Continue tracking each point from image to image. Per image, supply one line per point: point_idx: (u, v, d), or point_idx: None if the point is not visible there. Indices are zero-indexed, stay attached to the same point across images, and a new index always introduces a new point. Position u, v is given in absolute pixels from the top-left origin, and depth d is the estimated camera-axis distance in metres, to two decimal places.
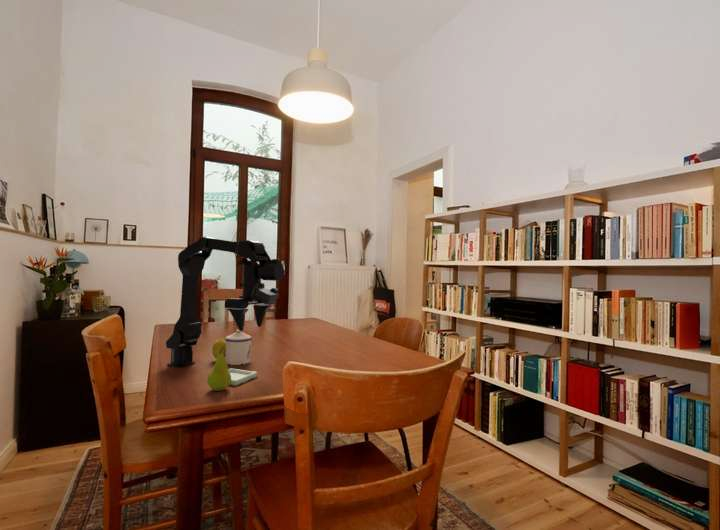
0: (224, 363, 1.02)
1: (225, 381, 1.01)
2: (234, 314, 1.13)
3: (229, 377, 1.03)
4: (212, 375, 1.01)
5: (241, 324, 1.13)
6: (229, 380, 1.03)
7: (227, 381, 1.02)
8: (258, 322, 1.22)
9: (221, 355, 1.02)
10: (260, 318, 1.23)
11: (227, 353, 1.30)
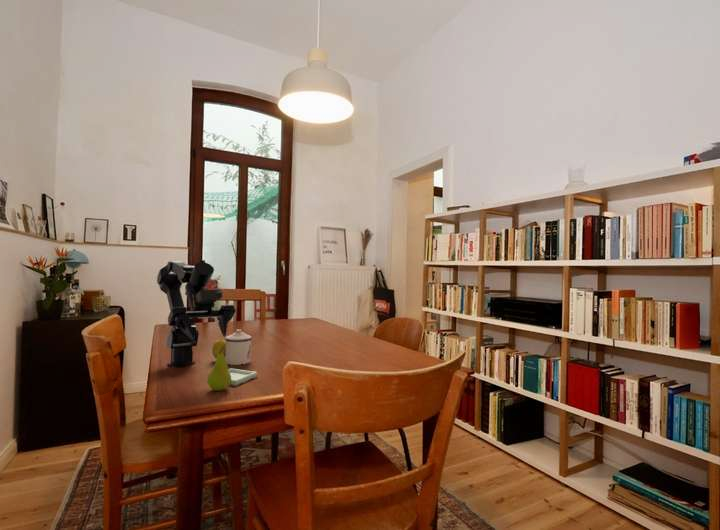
0: (224, 363, 1.02)
1: (225, 381, 1.01)
2: (182, 328, 1.08)
3: (229, 377, 1.03)
4: (212, 375, 1.01)
5: (189, 332, 1.06)
6: (229, 380, 1.03)
7: (227, 381, 1.02)
8: (222, 332, 1.13)
9: (221, 355, 1.02)
10: (223, 328, 1.13)
11: (227, 353, 1.30)
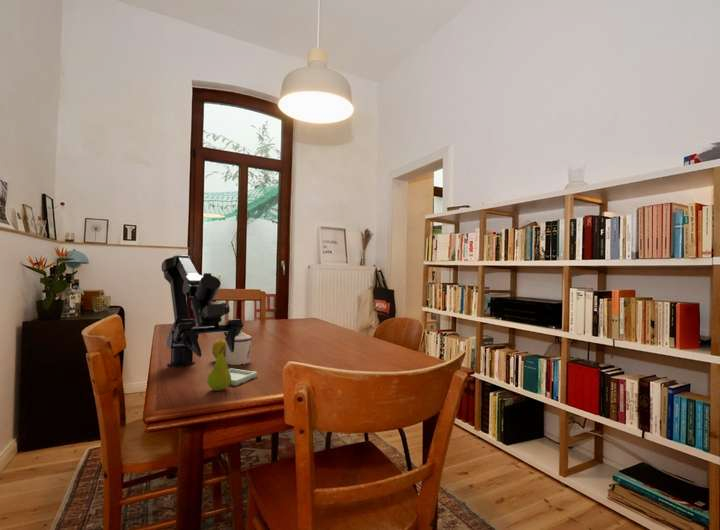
0: (224, 363, 1.02)
1: (225, 381, 1.01)
2: (189, 344, 1.04)
3: (229, 377, 1.03)
4: (212, 375, 1.01)
5: (196, 348, 1.02)
6: (229, 380, 1.03)
7: (227, 381, 1.02)
8: (230, 348, 1.08)
9: (221, 355, 1.02)
10: (230, 344, 1.09)
11: (227, 353, 1.30)
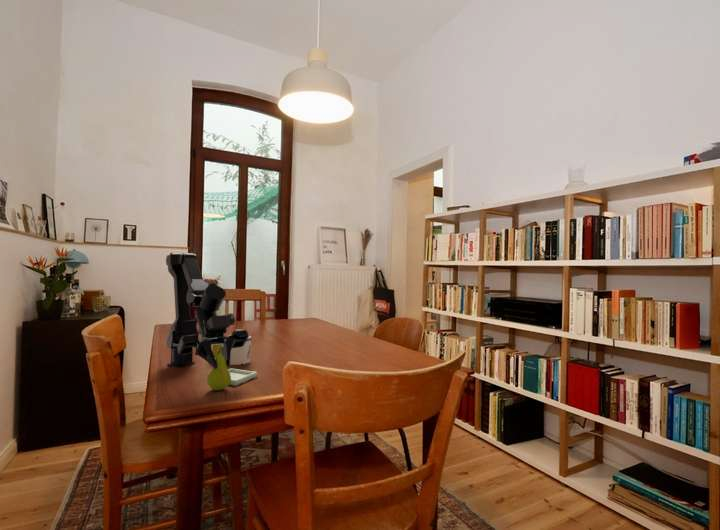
0: (223, 363, 1.02)
1: (225, 381, 1.01)
2: (204, 355, 1.03)
3: (229, 377, 1.03)
4: (212, 375, 1.01)
5: (211, 360, 1.01)
6: (229, 380, 1.02)
7: (227, 381, 1.01)
8: (226, 361, 1.04)
9: (220, 355, 1.02)
10: (226, 357, 1.05)
11: None
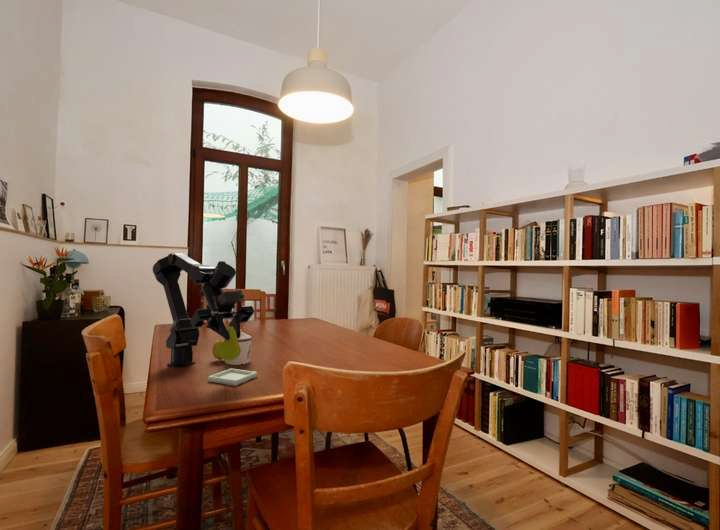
0: (235, 335, 1.10)
1: (237, 352, 1.09)
2: (215, 328, 1.10)
3: (239, 348, 1.11)
4: (224, 346, 1.08)
5: (224, 332, 1.08)
6: (239, 351, 1.10)
7: (238, 352, 1.09)
8: None
9: (232, 328, 1.10)
10: (236, 330, 1.12)
11: None
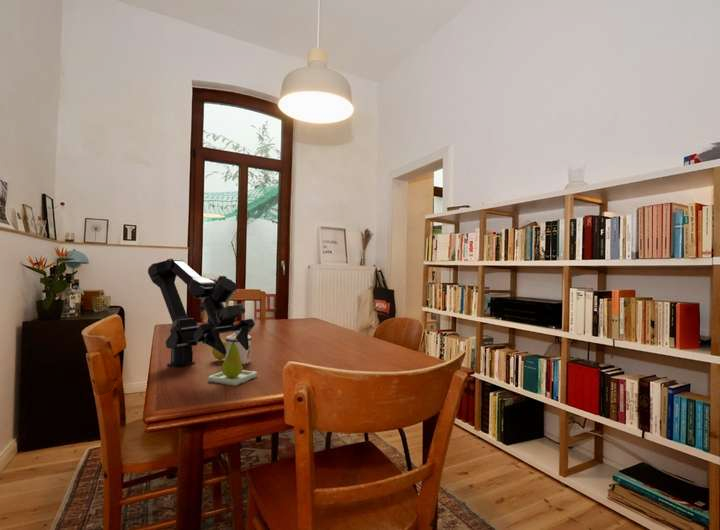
0: (237, 352, 1.13)
1: (240, 369, 1.12)
2: (211, 343, 1.10)
3: (242, 365, 1.13)
4: (227, 364, 1.10)
5: (221, 347, 1.09)
6: (242, 367, 1.13)
7: (241, 368, 1.12)
8: (245, 346, 1.16)
9: (234, 345, 1.12)
10: (244, 342, 1.16)
11: (227, 353, 1.30)
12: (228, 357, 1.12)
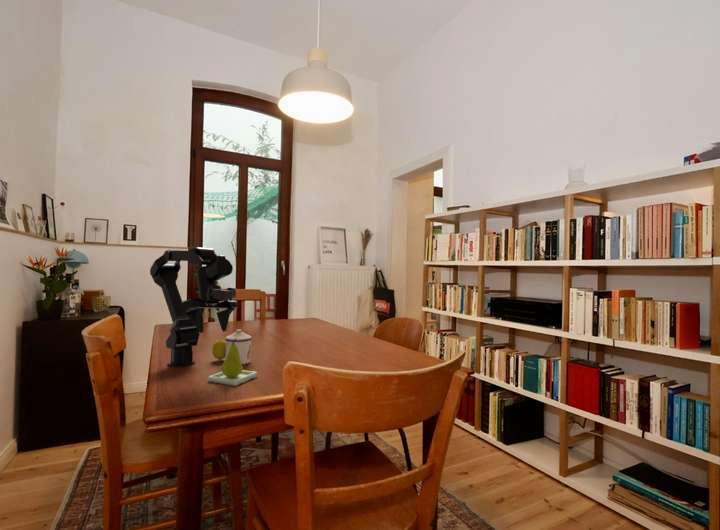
0: (237, 352, 1.13)
1: (240, 369, 1.12)
2: (192, 317, 1.13)
3: (242, 365, 1.13)
4: (227, 364, 1.10)
5: (200, 325, 1.12)
6: (242, 367, 1.13)
7: (241, 368, 1.12)
8: (222, 327, 1.21)
9: (234, 345, 1.12)
10: (223, 323, 1.21)
11: (227, 353, 1.30)
12: (228, 357, 1.12)
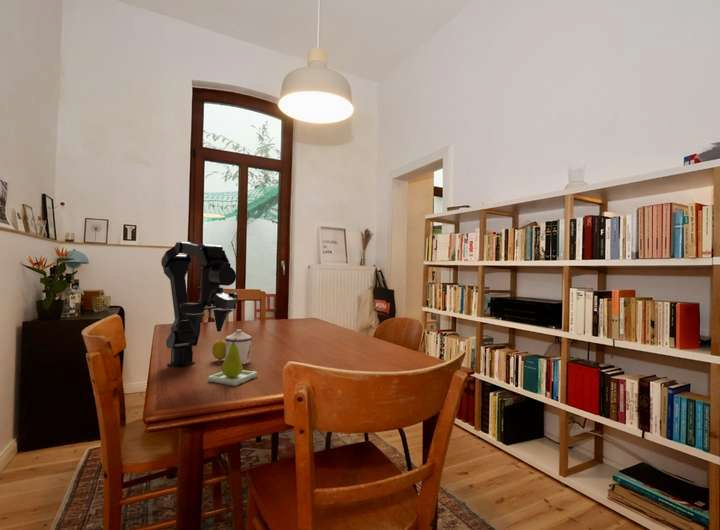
0: (237, 352, 1.13)
1: (240, 369, 1.12)
2: (190, 319, 1.11)
3: (242, 365, 1.13)
4: (227, 364, 1.10)
5: (197, 329, 1.11)
6: (242, 367, 1.13)
7: (241, 368, 1.12)
8: (218, 327, 1.21)
9: (234, 345, 1.12)
10: (219, 323, 1.21)
11: (227, 353, 1.30)
12: (228, 357, 1.12)
